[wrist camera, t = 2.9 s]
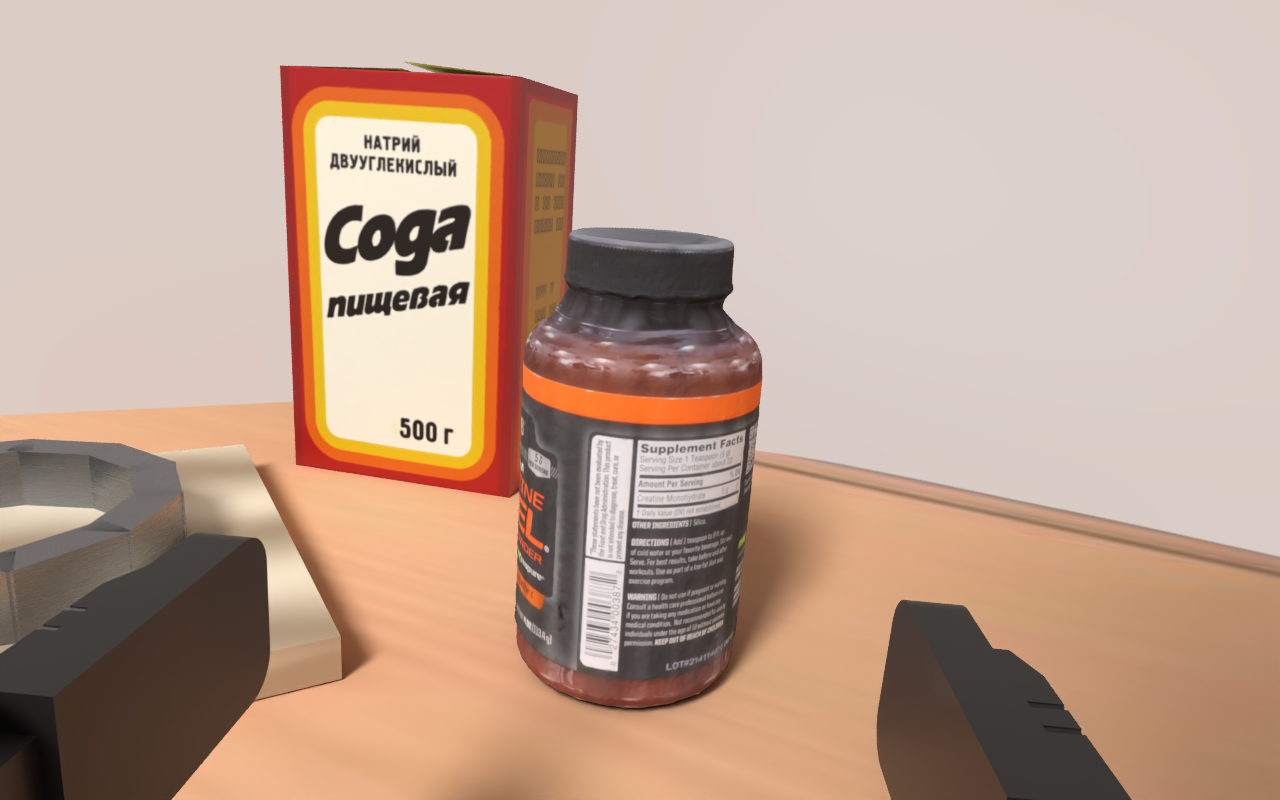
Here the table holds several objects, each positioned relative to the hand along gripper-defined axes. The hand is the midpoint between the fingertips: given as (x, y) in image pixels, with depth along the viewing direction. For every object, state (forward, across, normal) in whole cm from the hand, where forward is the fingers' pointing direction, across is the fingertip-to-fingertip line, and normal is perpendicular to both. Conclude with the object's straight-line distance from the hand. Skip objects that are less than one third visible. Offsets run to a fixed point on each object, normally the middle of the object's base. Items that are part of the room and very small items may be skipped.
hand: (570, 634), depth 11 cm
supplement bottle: (+11, 0, +7) cm, 13 cm away
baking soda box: (+26, +9, +7) cm, 28 cm away
